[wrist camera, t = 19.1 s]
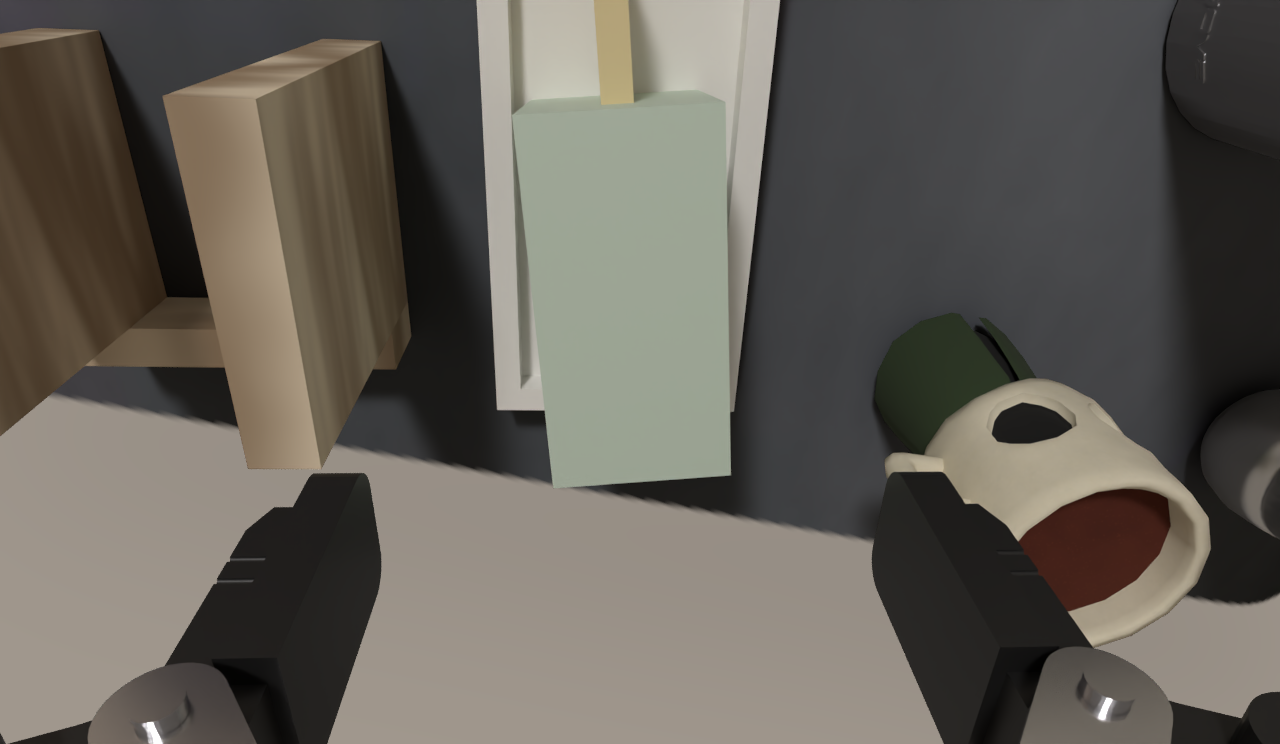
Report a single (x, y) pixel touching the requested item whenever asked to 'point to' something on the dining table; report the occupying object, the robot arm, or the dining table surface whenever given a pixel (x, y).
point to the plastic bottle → (1247, 459)
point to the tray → (568, 67)
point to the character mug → (1045, 474)
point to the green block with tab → (628, 273)
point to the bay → (205, 235)
